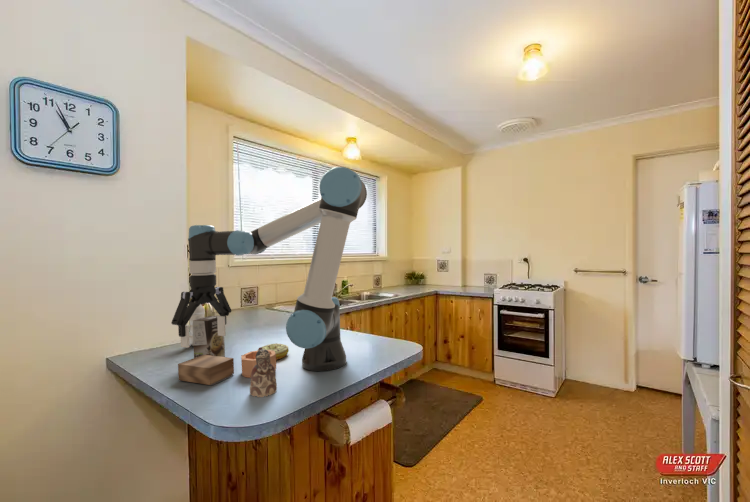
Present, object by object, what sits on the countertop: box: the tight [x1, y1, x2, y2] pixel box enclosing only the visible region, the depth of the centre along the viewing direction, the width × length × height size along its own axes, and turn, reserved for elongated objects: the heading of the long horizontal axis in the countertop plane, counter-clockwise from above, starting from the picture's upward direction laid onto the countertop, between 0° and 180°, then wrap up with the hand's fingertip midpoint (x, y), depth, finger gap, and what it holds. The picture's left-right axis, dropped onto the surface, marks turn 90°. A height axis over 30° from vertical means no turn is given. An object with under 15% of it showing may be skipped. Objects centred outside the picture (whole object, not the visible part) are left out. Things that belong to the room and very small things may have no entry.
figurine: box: [249, 346, 278, 398], centre depth 93 cm, size 7×7×12 cm
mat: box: [210, 374, 234, 386], centre depth 106 cm, size 14×8×1 cm, turn 68°
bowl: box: [240, 350, 277, 379], centre depth 109 cm, size 10×10×6 cm
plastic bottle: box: [189, 304, 206, 347], centre depth 144 cm, size 6×7×20 cm
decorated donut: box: [256, 342, 290, 361], centre depth 124 cm, size 11×12×4 cm
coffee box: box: [192, 315, 226, 358], centre depth 121 cm, size 9×6×16 cm
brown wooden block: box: [177, 355, 235, 386], centre depth 106 cm, size 13×10×5 cm
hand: (204, 340), depth 105 cm, fingers open, 13 cm apart
